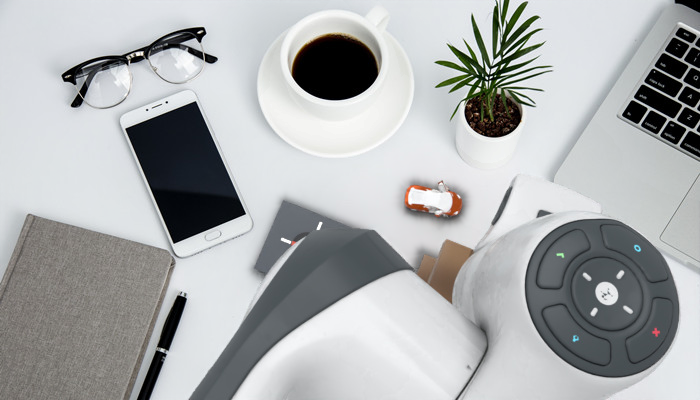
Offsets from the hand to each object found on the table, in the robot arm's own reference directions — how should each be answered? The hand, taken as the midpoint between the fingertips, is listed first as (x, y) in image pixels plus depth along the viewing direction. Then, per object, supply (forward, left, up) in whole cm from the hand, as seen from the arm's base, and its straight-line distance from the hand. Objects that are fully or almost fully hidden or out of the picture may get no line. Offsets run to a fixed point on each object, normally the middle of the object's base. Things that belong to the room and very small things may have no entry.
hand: (483, 304), depth 55 cm
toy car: (+13, +7, -28) cm, 32 cm away
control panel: (0, +20, -28) cm, 34 cm away
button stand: (0, 0, -28) cm, 28 cm away
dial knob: (0, +20, -25) cm, 32 cm away
